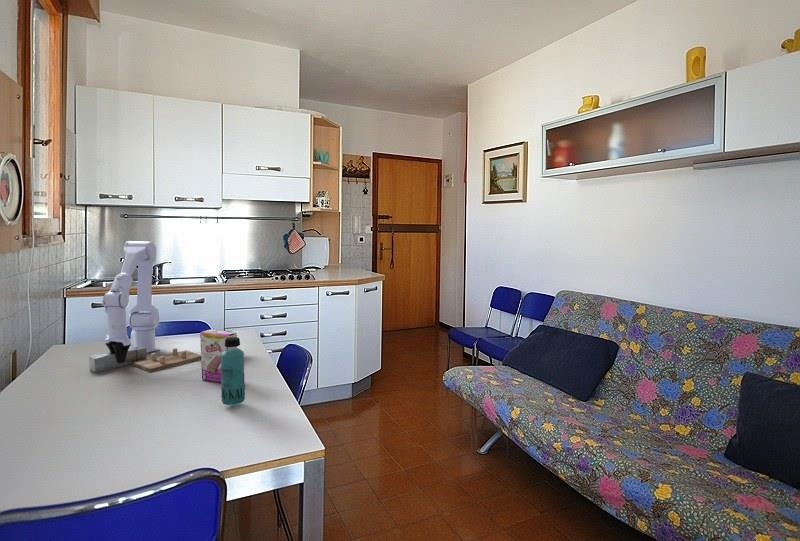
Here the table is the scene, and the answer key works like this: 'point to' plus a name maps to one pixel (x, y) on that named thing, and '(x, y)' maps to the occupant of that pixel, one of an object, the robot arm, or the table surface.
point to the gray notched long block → (110, 359)
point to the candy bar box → (213, 353)
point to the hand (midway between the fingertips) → (119, 361)
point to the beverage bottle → (232, 373)
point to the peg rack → (166, 360)
